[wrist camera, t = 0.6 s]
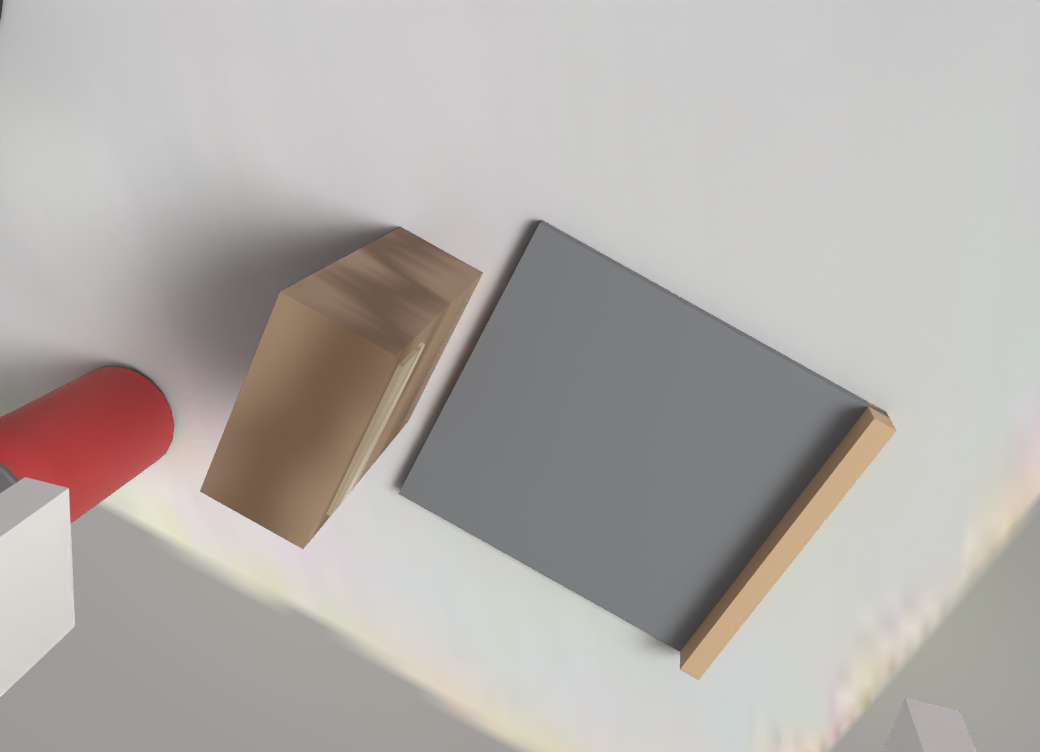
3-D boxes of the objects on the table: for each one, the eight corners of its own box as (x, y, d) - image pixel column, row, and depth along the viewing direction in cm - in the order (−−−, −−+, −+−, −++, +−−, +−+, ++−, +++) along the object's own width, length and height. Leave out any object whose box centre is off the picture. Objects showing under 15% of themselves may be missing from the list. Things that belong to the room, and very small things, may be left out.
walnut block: (332, 378, 49) (200, 491, 36) (400, 226, 45) (279, 291, 32) (411, 423, 49) (307, 551, 36) (486, 274, 45) (400, 358, 32)
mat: (403, 487, 50) (389, 506, 48) (542, 220, 43) (533, 228, 41) (698, 652, 50) (698, 679, 48) (886, 412, 43) (896, 430, 41)
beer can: (62, 390, 53) (-107, 476, 42) (136, 344, 50) (-22, 422, 39) (125, 477, 54) (-23, 583, 43) (199, 436, 52) (64, 536, 41)
